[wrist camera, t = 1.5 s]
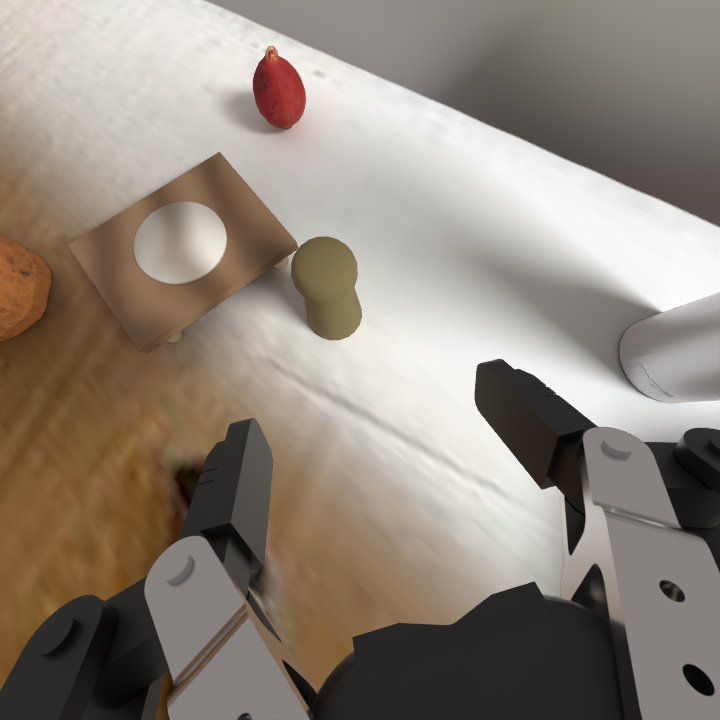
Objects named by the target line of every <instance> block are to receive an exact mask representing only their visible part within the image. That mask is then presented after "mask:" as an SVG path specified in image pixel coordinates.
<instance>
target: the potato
mask: <svg viewBox="0 0 720 720" xmlns="http://www.w3.org/2000/svg"><path fill="white" fill-rule="evenodd" d="M51 285H52V273H51V271H50V269H49V268H48V266H47V265H46V263H45V262H44V260H43V259H42V258H41V257H39V256H38V255H36V254H34V253H32V252H31V251H29V250H27V249H25V248H24V247H22V246H20V245H18V244H16V243H15V242H13V241H11V240H9V239H7V238H6V237H4V236H0V342H2V341H5V340H8V339H10V338H12V337H15V336H17V335H19V334H20V333H21V332H23V331H24V330H26V329H27V328H28V327H30V326H31V325H32V324H34V323H35V322H36V321H38V320H39V319H40V318H41V317H42V315H43V313H44V311H45V309H46V307H47V299H48V294H49V291H50V288H51Z"/></svg>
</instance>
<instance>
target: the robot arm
mask: <svg viewBox="0 0 720 720" xmlns="http://www.w3.org/2000/svg"><path fill="white" fill-rule="evenodd" d="M619 356H620V362H621V365H622V368H623V370H624V372H625V374H626V376H627V377H628V379H629V380H630V381H631V382H632V384H633V385H634V386H635V387H636V388H637V389H639V390H640V391H641V392H642V393H644V394H645V395H647V396H649V397H651V398H653V399H655V400H658V401H661V402H668V403H679V402H698V401H716V400H720V292H719V293H716V294H714V295H711V296H708V297H705V298H702V299H700V300H697V301H694V302H691V303H688V304H686V305H683V306H680V307H677V308H674V309H671V310H668V311H666V312H663V313H660V314H657V315H654V316H652V317H649V318H646V319H643V320H641V321H638V322H636V323H635V324H633V325H632V326H630V327H629V328H628V329H627V330H626V332H625V333H624V335H623V336H622V339H621V342H620V348H619ZM475 403H476V406H477V408H478V410H479V412H480V413H481V415H482V416H483V417H484V418H485V420H486V421H487V422H488V423H489V425H490V426H491V427H492V428H493V430H494V431H495V432H496V433H497V435H498V436H499V437H500V438H501V440H502V441H503V442H504V443H505V445H506V446H507V447H508V448H509V450H510V451H511V452H512V453H513V455H514V456H515V457H516V458H517V460H518V461H519V462H520V463H521V465H522V466H523V467H524V468H525V470H526V471H527V472H528V473H529V474H530V476H531V477H532V478H533V479H534V481H535V482H536V483H537V484H538V486H539V487H540V488H541V489H546V488H549V487H553V486H557V488H558V489H559V490H560V491H561V492H562V493H561V496H560V508H561V524H562V541H563V558H564V561H563V571H562V577H561V588H560V597H554V596H549V595H542V593H541V592H540V590H539V588H538V587H537V585H536V583H535V582H531V583H528V584H525V585H521V586H518V587H515V588H512V589H508V590H505V591H502V592H499V593H495V594H492V595H490V596H489V597H488V598H486V599H485V600H484V601H483V602H481V603H480V604H479V605H477V606H476V607H475V608H474V609H472V610H471V611H470V612H468V613H467V614H466V615H465V616H463V617H462V618H461V619H459V620H458V621H457V622H455V623H454V624H451V625H430V624H408V623H397V624H394V625H391V626H388V627H384V628H381V629H378V630H375V631H371V632H368V633H365V634H362V635H358V636H355V637H353V645H354V651H353V652H352V653H351V654H349V655H348V656H347V657H346V658H345V659H344V660H343V661H342V662H341V663H340V664H339V665H338V666H336V668H335V669H334V670H333V672H332V673H331V674H330V675H329V677H328V678H327V679H326V681H325V682H324V684H323V685H322V687H321V689H320V690H319V691H318V690H317V688H316V687H315V685H314V684H313V682H312V681H311V679H310V677H309V676H308V674H307V673H306V671H305V670H304V669H303V667H302V666H301V664H300V663H299V662H298V660H297V659H296V657H295V656H294V655H293V654H292V652H291V651H290V650H289V648H288V647H287V645H286V644H285V642H284V641H283V639H282V638H281V636H280V635H279V633H278V632H277V630H276V628H275V627H274V625H273V624H272V622H271V621H270V619H269V618H268V616H267V614H266V613H265V611H264V610H263V608H262V607H261V605H260V604H259V602H258V601H257V599H256V597H255V596H254V594H253V593H252V591H251V590H250V588H249V587H248V586H249V578H250V570H253V569H257V568H261V567H264V559H265V547H266V536H267V525H268V513H269V502H270V491H271V479H272V468H273V459H272V453H271V449H270V447H269V445H268V443H267V441H266V439H265V436H264V434H263V432H262V430H261V428H260V426H259V424H258V422H257V420H256V419H255V418H251V419H247V420H243V421H239V422H234V423H231V424H230V426H229V428H228V432H227V435H226V439H225V441H221V442H217V444H216V445H215V446H214V448H213V449H212V450H211V452H210V453H209V454H208V456H207V457H206V460H205V463H204V466H203V469H202V474H201V475H200V478H199V481H198V487H196V490H195V493H194V496H193V499H192V502H191V505H190V508H189V511H188V514H187V517H186V520H185V523H184V526H183V529H182V532H181V535H180V538H179V540H178V542H176V543H174V544H173V545H172V546H170V547H169V548H168V549H167V550H166V551H165V552H164V553H163V554H162V555H161V556H160V557H159V558H158V559H157V561H156V562H155V563H154V565H153V567H152V568H151V570H150V572H149V574H148V576H147V577H145V578H143V579H142V580H140V581H139V582H137V583H135V584H133V585H132V586H130V587H128V588H127V589H125V590H123V591H122V592H120V593H118V594H116V595H115V596H113V597H111V598H110V599H108V600H106V601H103V600H101V599H100V598H98V597H96V596H94V595H84V596H80V597H78V598H76V599H73V600H72V601H70V602H68V603H66V604H65V605H64V606H62V607H61V608H59V609H58V610H57V611H56V612H54V613H53V614H52V615H51V616H50V617H49V618H48V619H47V620H46V621H45V622H44V623H43V624H42V625H41V626H40V627H39V628H38V629H37V631H36V632H35V633H34V634H33V636H32V637H31V638H30V640H29V641H28V643H27V644H26V646H25V648H24V649H23V651H22V653H21V654H20V656H19V658H18V660H17V662H16V664H15V665H14V667H13V669H12V671H11V673H10V674H9V676H8V678H7V680H6V682H5V684H4V685H3V687H2V689H1V691H0V720H155V716H156V712H157V707H158V703H159V699H160V694H161V690H162V686H163V681H164V677H165V674H166V673H167V672H169V671H170V672H171V675H172V678H173V689H172V690H171V691H170V693H169V694H168V698H167V706H168V713H169V717H170V720H720V430H716V429H710V428H694V429H690V430H688V431H686V433H685V434H684V435H683V437H682V438H681V440H680V441H679V443H664V442H642V441H641V440H640V439H638V438H637V437H635V436H633V435H631V434H629V433H627V432H625V431H622V430H619V429H615V428H609V427H598V426H596V425H595V424H594V423H593V422H591V421H590V420H589V419H588V418H586V417H585V416H584V415H583V414H581V413H580V412H579V411H578V410H576V409H575V408H574V407H573V406H571V405H570V404H569V403H568V402H566V401H565V400H564V399H563V398H561V397H560V396H559V395H556V393H555V392H554V391H553V390H551V389H550V388H549V387H546V385H545V384H544V383H543V382H541V381H540V380H539V379H538V378H537V377H535V376H534V375H532V374H529V373H527V372H525V371H522V370H520V369H516V370H515V369H513V368H512V367H511V366H510V365H509V364H507V363H506V362H505V361H504V360H502V359H496V360H492V361H488V362H484V363H480V364H478V366H477V371H476V383H475Z"/></svg>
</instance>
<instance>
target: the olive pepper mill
mask: <svg viewBox="0 0 720 720" xmlns="http://www.w3.org/2000/svg"><path fill="white" fill-rule="evenodd" d="M357 274H358V272H357V262H356V260H355V257H354V255H353V253H352V251H351V250H350V249H349V248H348V247H347V245H346V244H344V243H342V242H341V241H339V240H337V239H334V238H330V237H316V238H313V239H310V240H308V241H307V242H305V243H304V244H302V245H301V246H300V248H299V249H298V250H297V251H296V253H295V254H294V257H293V260H292V263H291V276H292V279H293V282H294V284H295V286H296V288H297V290H298V291H299V292H300V293H301V294H302V296H304V297H305V303H306V311H307V319H308V322H309V325H310V327H311V329H312V330H313V331H314V332H315V333H316V334H317V335H319V336H320V337H322V338H324V339H328V340H341V339H344V338H346V337H349V336H350V335H351V334H352V333H354V332H355V331H356V329H357V328H358V326H359V325H360V321H361V318H362V312H361V306H360V303H359V300H358V297H357V294H356V291H355V288H354V286H355V283H356V280H357Z"/></svg>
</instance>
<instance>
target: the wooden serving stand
mask: <svg viewBox="0 0 720 720" xmlns="http://www.w3.org/2000/svg"><path fill="white" fill-rule="evenodd" d="M68 246H69V248H70V249H71V251H72V252H73V254H74V255H75V257H76V258H77V260H78V261H79V263H80V264H81V266H82V267H83V269H84V270H85V272H86V273H87V275H88V276H89V278H90V279H91V281H92V282H93V284H94V285H95V287H96V288H97V290H98V291H99V293H100V294H101V296H102V297H103V299H104V300H105V302H106V303H107V305H108V306H109V308H110V309H111V311H112V312H113V314H114V315H115V317H116V318H117V320H118V321H119V323H120V324H121V326H122V327H123V329H124V330H125V332H126V333H127V335H128V336H129V338H130V339H131V341H132V342H133V344H134V345H135V347H136V348H137V350H138V351H140V352H143V353H146V354H148V353H150V352H151V351H152V350H154V349H155V348H157V347H158V346H160V345H161V344H163V343H164V342H168V343H170V344H176V343H178V342H180V341H181V340H182V338H183V335H184V332H183V329H184V328H185V327H187V326H188V325H190V324H191V323H193V322H194V321H196V320H197V319H198V318H200V317H201V316H203V315H204V314H206V313H207V312H208V311H210V310H211V309H213V308H214V307H216V306H217V305H218V304H220V303H221V302H223V301H224V300H226V299H227V298H228V297H230V296H231V295H233V294H234V293H236V292H237V291H239V290H240V289H241V288H243V287H244V286H246V285H247V284H249V283H250V282H251V281H253V280H254V279H256V278H257V277H259V276H260V275H261V274H263V273H264V272H266V271H267V270H269V269H270V268H272V267H273V268H275V269H278V270H280V269H283V268H285V267H286V266H287V265H288V258H287V256H289V255H290V254H292V253H293V252H294V251H296V250H297V249H299V248H298V246H297V243H296V241H295V240H294V239H293V237H292V236H291V235H290V234H289V233H288V232H287V230H286V229H285V228H284V227H283V226H282V224H281V223H280V222H279V221H278V220H277V219H276V217H275V216H274V215H273V214H272V213H271V212H270V210H269V209H268V208H267V207H266V206H265V205H264V203H263V202H262V201H261V200H260V199H259V198H258V196H257V195H256V194H255V193H254V192H253V190H252V189H251V188H250V187H249V186H248V185H247V183H246V182H245V181H244V180H243V179H242V178H241V176H240V175H239V174H238V173H237V172H236V171H235V169H234V168H233V167H232V166H231V165H230V164H229V162H228V161H227V160H226V159H225V158H224V157H223V155H222V154H221V153H220V152H218V153H217V154H215V155H213V156H212V157H210V158H209V159H207V160H205V161H204V162H202V163H200V164H199V165H197V166H196V167H194V168H192V169H191V170H189V171H187V172H186V173H184V174H183V175H181V176H179V177H178V178H176V179H174V180H173V181H171V182H169V183H168V184H166V185H165V186H163V187H161V188H160V189H158V190H156V191H155V192H153V193H152V194H150V195H148V196H147V197H145V198H143V199H142V200H140V201H139V202H137V203H135V204H134V205H132V206H130V207H129V208H127V209H125V210H124V211H122V212H121V213H119V214H117V215H116V216H114V217H112V218H111V219H109V220H108V221H106V222H104V223H103V224H101V225H99V226H98V227H96V228H95V229H93V230H91V231H90V232H88V233H86V234H85V235H83V236H81V237H80V238H78V239H77V240H75V241H73V242H72V243H70V244H68Z"/></svg>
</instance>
